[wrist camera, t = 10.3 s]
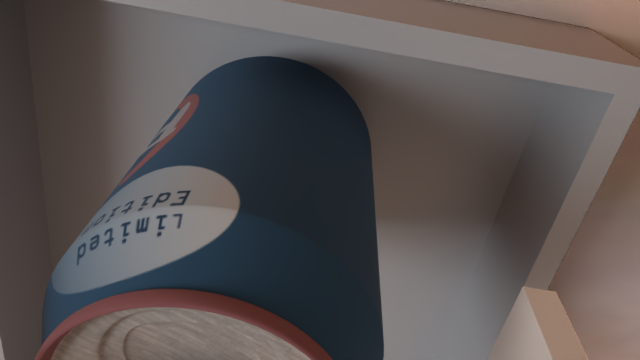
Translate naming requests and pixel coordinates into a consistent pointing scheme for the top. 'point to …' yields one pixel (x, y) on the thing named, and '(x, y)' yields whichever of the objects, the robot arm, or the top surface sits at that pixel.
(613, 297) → the top surface
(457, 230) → the tote
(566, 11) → the top surface
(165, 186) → the soda can
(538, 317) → the robot arm
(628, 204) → the top surface
